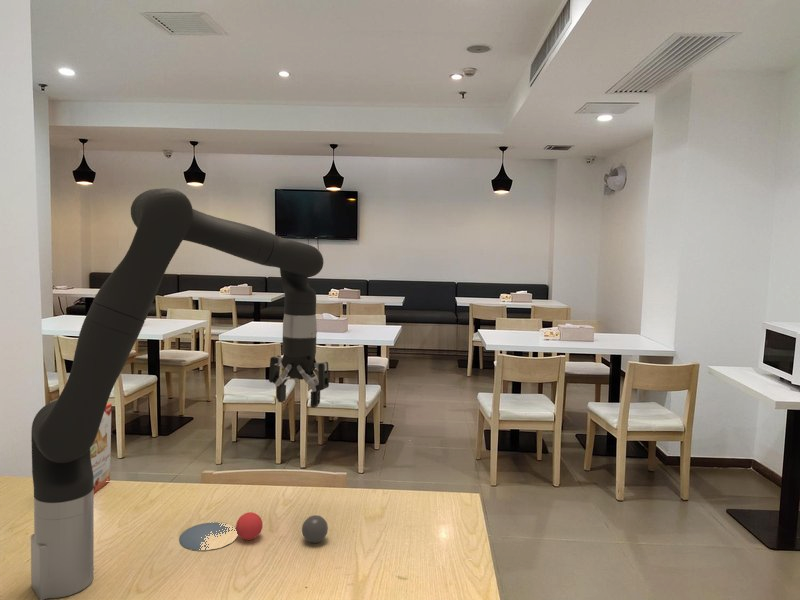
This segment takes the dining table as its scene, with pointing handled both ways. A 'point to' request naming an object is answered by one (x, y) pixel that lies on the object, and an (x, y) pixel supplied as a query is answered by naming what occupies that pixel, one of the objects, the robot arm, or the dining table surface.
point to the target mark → (200, 534)
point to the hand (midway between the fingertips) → (298, 404)
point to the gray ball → (314, 528)
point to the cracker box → (102, 451)
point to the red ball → (249, 526)
